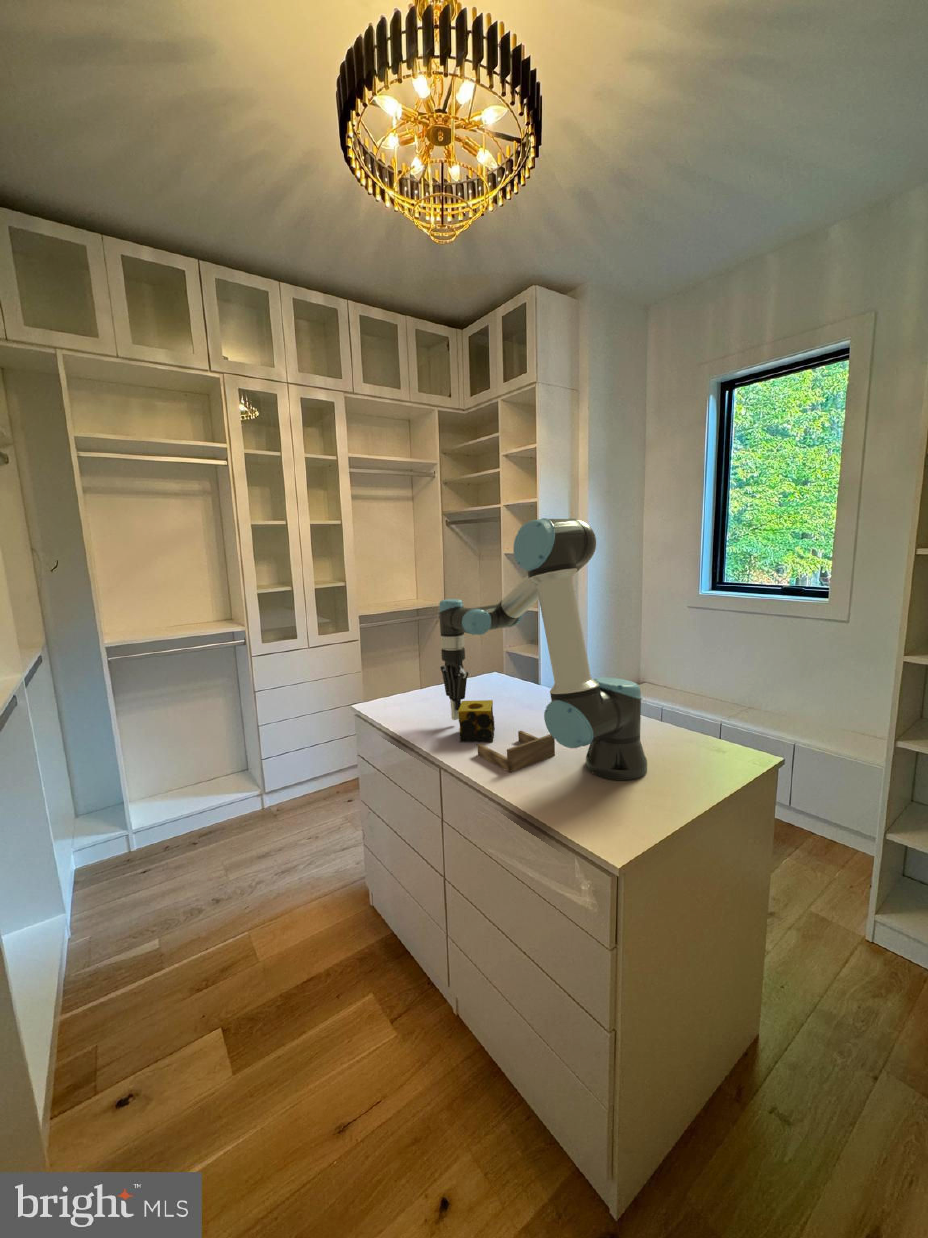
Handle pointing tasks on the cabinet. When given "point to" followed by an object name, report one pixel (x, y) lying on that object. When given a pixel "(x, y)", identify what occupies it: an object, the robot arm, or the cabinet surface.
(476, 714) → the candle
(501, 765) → the dock
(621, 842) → the cabinet surface
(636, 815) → the cabinet surface
